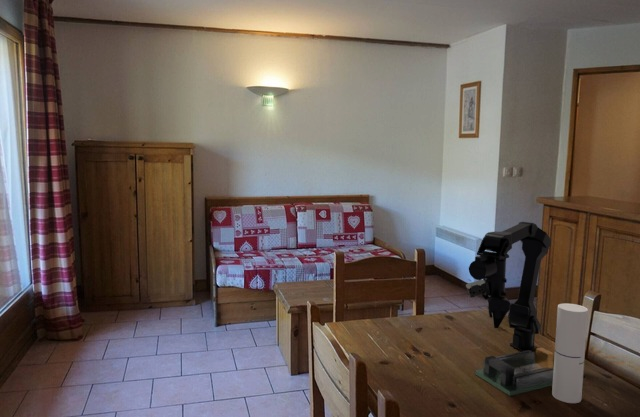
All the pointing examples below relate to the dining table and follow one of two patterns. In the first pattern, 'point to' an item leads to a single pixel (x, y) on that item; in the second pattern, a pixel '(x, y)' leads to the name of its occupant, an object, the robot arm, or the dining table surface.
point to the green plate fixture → (502, 373)
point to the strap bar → (537, 362)
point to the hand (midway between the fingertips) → (493, 322)
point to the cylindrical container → (569, 352)
